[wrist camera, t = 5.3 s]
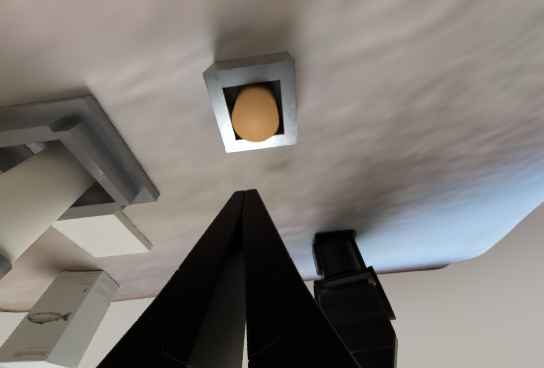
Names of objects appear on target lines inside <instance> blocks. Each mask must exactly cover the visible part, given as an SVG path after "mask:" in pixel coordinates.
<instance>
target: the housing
mask: <svg viewBox="0 0 544 368" xmlns="http://www.w3.org/2000/svg"><path fill="white" fill-rule="evenodd" d="M59 139H60V140H61V142H62V143H63V144H64V145H65V146H66V147H67V148H68V149H69V150H70V152H71V153H72V154H73V155H74V156H75V157H76V158H77V159H78V160H79V161H80V163H81V164H82V165H83V166H84V167H85V168H86V169H87V170H88V171H89V172H90V174H91V175H92V176H93V177H94V178H95V179H96V180H97V181H98V182H99V183H100V185H101V186H102V187H95V188H88V189H87V190H86V191H85V192H84V193H83V194H82V195H81V196H80V197H79V198H78V199H77V200H76V201H75V202H74V203H73V204H72V205H71V206H70V207H69V208H68V209H67V210H66V211H65V212H64V213H63V214H62V215H61V216H60V217H67V216H75V215H84V214H92V213H101V212H109V211H118V210H124V208H125V207H126V206H127V205H131V204H139V203H147V202H156V201H157V199H158V197H159V195H160V194H159V193H158V191H157V190H156V188H155V187H154V185H153V184H152V182H151V181H150V179H149V178H148V176H147V175H146V173H145V172H144V170H143V169H142V167H141V166H140V165H139V163H138V162H137V160H136V159H135V157H134V156H133V154H132V153H131V151H130V150H129V148H128V147H127V145H126V144H125V142H124V141H123V139H122V138H121V136H120V135H119V133H118V132H117V131H116V129H115V128H114V126H113V125H112V123H111V122H110V120H109V119H108V117H107V116H106V114H105V113H104V111H103V110H102V108H101V107H100V105H99V104H98V102H97V101H96V99H95V98H94V96H93V95H85V96H78V97H71V98H64V99H57V100H50V101H43V102H36V103H29V104H22V105H15V106H8V107H1V108H0V175H1V174H3V173H5V172H6V171H8V170H10V169H11V168H13V167H15V166H16V165H18V164H20V163H21V162H23V161H25V160H26V159H28V158H30V157H31V156H33V155H35V154H34V153H32V152H31V151H30V150H29V149H28V148H27V147H26V146H25V145H24V144H29V143H36V142H44V141H51V140H59Z"/></svg>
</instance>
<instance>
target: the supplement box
mask: <svg viewBox="0 0 544 368" xmlns="http://www.w3.org/2000/svg"><path fill="white" fill-rule="evenodd" d="M118 289H119V286H118V285H117V284H116V283H115V282H114V281H113V280H112V279H111V278H110V277H109V276H108V275H107V274H106V273H105V272H104V271H88V272H69V271H62V272H60V274H59V275H58V276H57V277H56V279H55V280H54V281H53V282H52V284H51V285H50V286H49V287H48V289H47V290H46V291H45V292H44V294H43V295H42V296H41V297H40V299H39V300H38V301H37V302H36V304H35V305H34V306H33V307H32V309H31V310H30V311H29V312H28V314H27V315H26V316H25V318H24V319H23V320H22V321H21V323H20V324H19V325H18V326H17V327H16V329H15V330H14V331H13V332H12V334H11V335H10V336H9V338H8V339H7V340H6V341H5V343H4V344H3V345H2V346H1V348H0V366H1V367H7V368H77V366H78V364H79V363H80V360H81V359H82V357H83V355H84V353H85V351H86V349H87V347H88V345H89V344H90V342H91V340H92V338H93V336H94V334H95V332H96V330H97V329H98V327H99V325H100V323H101V321H102V319H103V317H104V315H105V314H106V312H107V310H108V308H109V306H110V304H111V302H112V300H113V299H114V297H115V295H116V293H117V291H118Z"/></svg>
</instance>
